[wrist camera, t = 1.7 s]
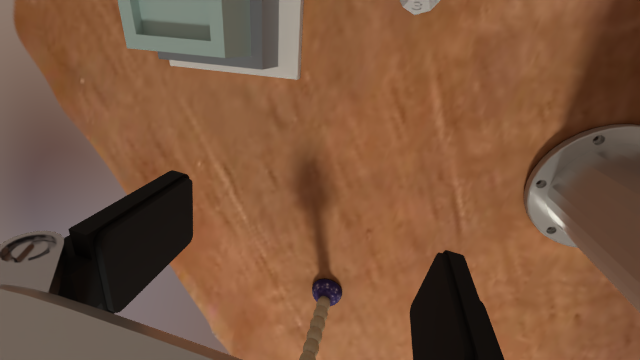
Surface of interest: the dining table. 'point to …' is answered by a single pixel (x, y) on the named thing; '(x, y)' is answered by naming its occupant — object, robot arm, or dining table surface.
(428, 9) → the game die
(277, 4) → the stepped pedestal
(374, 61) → the dining table surface
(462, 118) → the dining table surface
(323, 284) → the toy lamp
